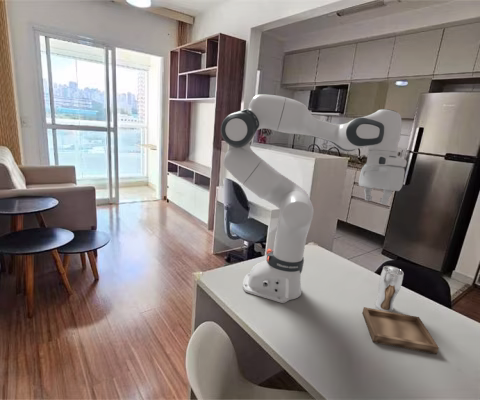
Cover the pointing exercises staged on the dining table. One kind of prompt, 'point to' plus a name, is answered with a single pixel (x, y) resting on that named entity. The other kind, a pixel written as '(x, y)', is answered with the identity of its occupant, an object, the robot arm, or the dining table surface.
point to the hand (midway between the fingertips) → (375, 202)
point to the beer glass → (388, 287)
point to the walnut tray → (399, 330)
